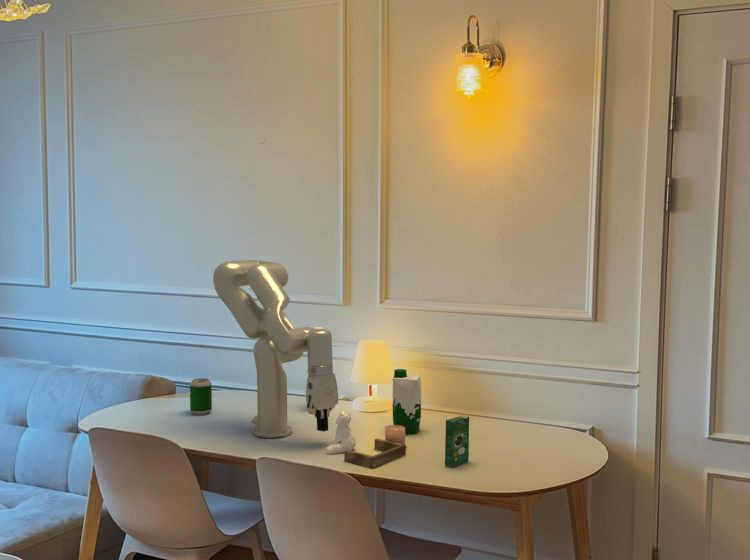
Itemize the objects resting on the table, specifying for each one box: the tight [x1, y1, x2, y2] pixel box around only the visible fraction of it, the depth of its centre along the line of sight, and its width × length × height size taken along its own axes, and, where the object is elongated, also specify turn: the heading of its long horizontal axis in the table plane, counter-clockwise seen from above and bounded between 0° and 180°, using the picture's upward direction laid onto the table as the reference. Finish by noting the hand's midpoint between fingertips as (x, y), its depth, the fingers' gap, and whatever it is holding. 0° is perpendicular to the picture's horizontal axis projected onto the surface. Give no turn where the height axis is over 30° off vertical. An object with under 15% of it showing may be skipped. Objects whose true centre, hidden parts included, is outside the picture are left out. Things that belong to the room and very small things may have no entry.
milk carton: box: [392, 368, 422, 435], centre depth 241 cm, size 9×9×20 cm
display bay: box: [343, 438, 407, 470], centre depth 214 cm, size 11×15×3 cm
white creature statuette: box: [325, 410, 357, 455], centre depth 222 cm, size 10×9×12 cm
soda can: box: [189, 377, 213, 417], centre depth 264 cm, size 8×8×12 cm
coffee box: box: [444, 415, 470, 469], centre depth 209 cm, size 8×3×13 cm, turn 137°
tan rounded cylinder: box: [384, 424, 406, 445], centre depth 225 cm, size 6×6×6 cm
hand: (322, 430), depth 226 cm, fingers closed
